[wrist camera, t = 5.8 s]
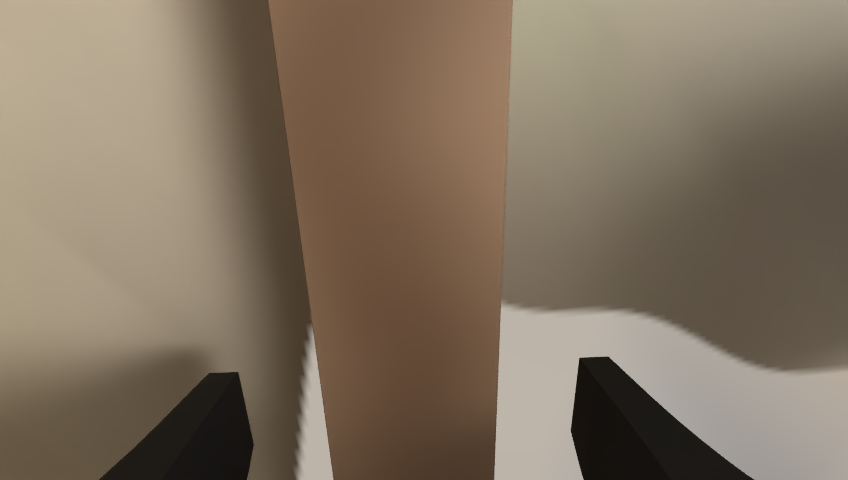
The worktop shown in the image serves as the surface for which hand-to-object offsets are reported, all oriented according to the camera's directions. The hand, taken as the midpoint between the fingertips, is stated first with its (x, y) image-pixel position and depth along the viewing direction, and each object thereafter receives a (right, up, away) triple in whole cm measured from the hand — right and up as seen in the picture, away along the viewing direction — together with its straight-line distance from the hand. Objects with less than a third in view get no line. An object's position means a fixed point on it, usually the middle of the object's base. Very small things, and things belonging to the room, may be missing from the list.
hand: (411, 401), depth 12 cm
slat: (0, +2, +1) cm, 3 cm away
